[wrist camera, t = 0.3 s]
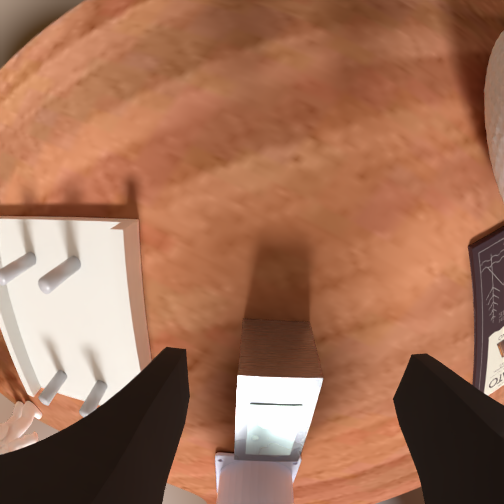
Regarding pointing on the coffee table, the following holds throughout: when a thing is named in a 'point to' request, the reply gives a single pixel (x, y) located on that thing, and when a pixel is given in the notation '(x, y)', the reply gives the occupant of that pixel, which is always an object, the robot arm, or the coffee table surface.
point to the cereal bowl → (496, 111)
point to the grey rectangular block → (275, 390)
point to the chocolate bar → (488, 311)
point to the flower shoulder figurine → (18, 428)
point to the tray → (73, 305)
